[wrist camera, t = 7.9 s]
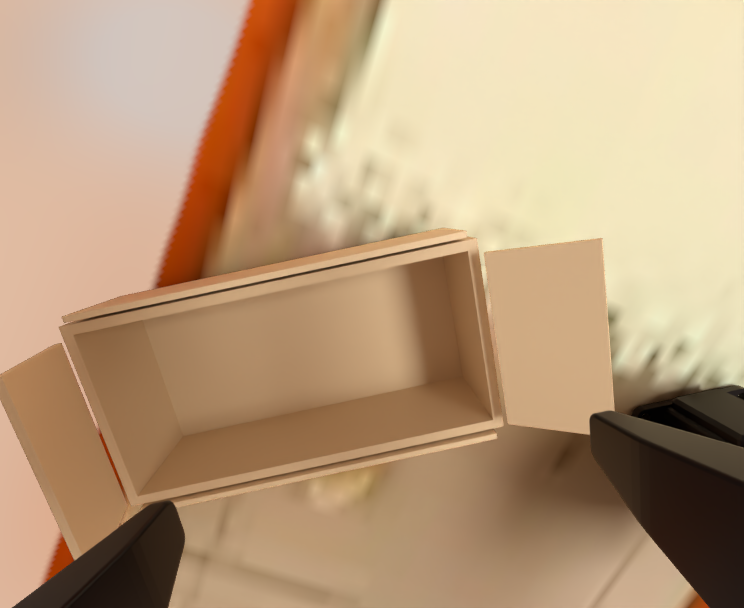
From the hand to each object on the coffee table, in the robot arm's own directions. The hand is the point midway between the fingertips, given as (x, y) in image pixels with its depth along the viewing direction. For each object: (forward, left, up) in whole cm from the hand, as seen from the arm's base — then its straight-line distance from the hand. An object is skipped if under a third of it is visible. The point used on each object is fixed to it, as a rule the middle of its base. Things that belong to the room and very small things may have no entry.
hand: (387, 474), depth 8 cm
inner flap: (0, -6, -6) cm, 8 cm away
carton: (0, +3, -12) cm, 13 cm away
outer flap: (0, +10, -5) cm, 11 cm away
